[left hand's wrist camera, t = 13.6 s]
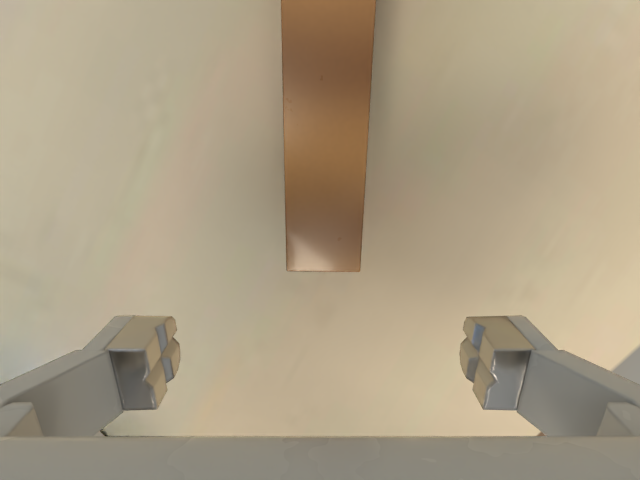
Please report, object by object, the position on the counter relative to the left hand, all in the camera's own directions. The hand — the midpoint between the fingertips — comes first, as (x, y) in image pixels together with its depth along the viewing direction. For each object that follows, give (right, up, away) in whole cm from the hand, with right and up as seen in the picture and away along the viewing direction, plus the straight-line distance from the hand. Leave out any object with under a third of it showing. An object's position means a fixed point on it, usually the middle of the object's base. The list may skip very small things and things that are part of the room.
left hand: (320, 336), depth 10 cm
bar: (0, +15, +17) cm, 22 cm away
